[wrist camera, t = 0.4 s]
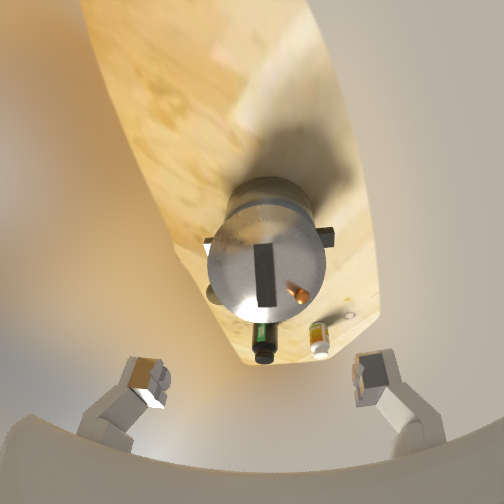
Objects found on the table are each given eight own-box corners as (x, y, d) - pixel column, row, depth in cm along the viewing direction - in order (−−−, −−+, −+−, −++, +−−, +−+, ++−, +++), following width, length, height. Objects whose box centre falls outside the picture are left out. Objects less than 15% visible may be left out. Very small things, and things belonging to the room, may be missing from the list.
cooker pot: (203, 184, 49) (191, 215, 41) (325, 171, 46) (336, 201, 38) (222, 250, 59) (216, 286, 52) (325, 242, 56) (333, 277, 49)
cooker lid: (208, 213, 41) (201, 207, 37) (318, 203, 39) (320, 194, 35) (213, 323, 38) (206, 326, 35) (328, 317, 36) (332, 320, 33)
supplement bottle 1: (256, 314, 74) (254, 353, 65) (280, 318, 75) (281, 356, 66) (250, 327, 79) (248, 364, 70) (273, 330, 80) (273, 367, 71)
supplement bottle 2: (305, 330, 79) (307, 359, 72) (314, 320, 75) (317, 350, 68) (321, 332, 80) (324, 361, 72) (330, 323, 76) (334, 352, 69)
